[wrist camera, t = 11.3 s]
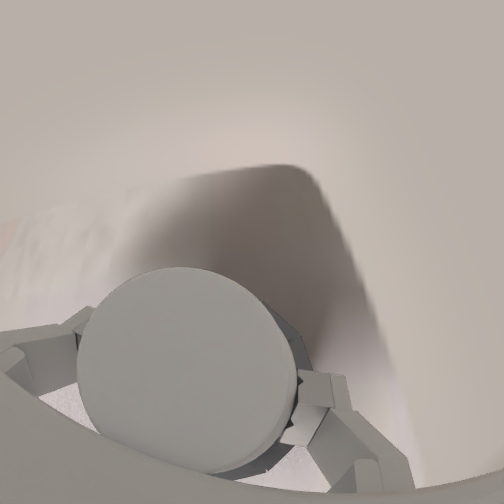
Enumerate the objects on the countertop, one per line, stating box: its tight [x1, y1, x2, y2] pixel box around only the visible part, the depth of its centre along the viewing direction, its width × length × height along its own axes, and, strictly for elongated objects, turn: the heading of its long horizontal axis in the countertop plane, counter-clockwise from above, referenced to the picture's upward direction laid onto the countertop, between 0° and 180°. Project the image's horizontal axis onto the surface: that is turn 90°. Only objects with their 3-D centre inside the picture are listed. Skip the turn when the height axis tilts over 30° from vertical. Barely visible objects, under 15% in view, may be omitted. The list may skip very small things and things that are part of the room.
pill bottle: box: [77, 267, 297, 475], centre depth 9 cm, size 5×5×10 cm
